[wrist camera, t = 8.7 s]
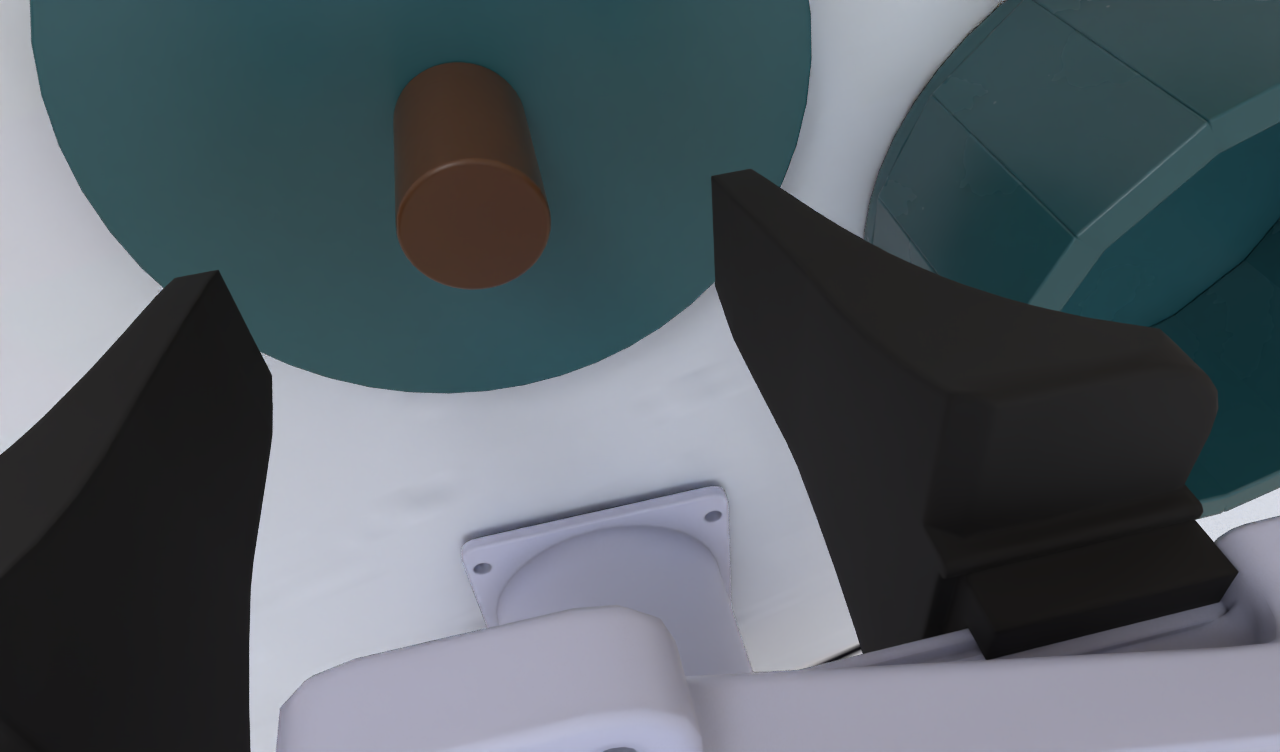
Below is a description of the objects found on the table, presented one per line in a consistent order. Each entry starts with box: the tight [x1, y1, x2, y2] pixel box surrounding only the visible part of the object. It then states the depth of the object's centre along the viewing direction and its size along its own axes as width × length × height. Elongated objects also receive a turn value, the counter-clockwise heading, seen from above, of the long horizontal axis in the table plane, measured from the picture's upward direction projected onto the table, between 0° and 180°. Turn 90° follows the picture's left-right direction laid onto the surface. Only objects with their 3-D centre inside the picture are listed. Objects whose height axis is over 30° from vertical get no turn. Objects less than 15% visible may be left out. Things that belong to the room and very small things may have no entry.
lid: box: [30, 0, 811, 393], centre depth 16 cm, size 14×14×5 cm
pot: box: [864, 0, 1280, 520], centre depth 20 cm, size 13×18×6 cm
